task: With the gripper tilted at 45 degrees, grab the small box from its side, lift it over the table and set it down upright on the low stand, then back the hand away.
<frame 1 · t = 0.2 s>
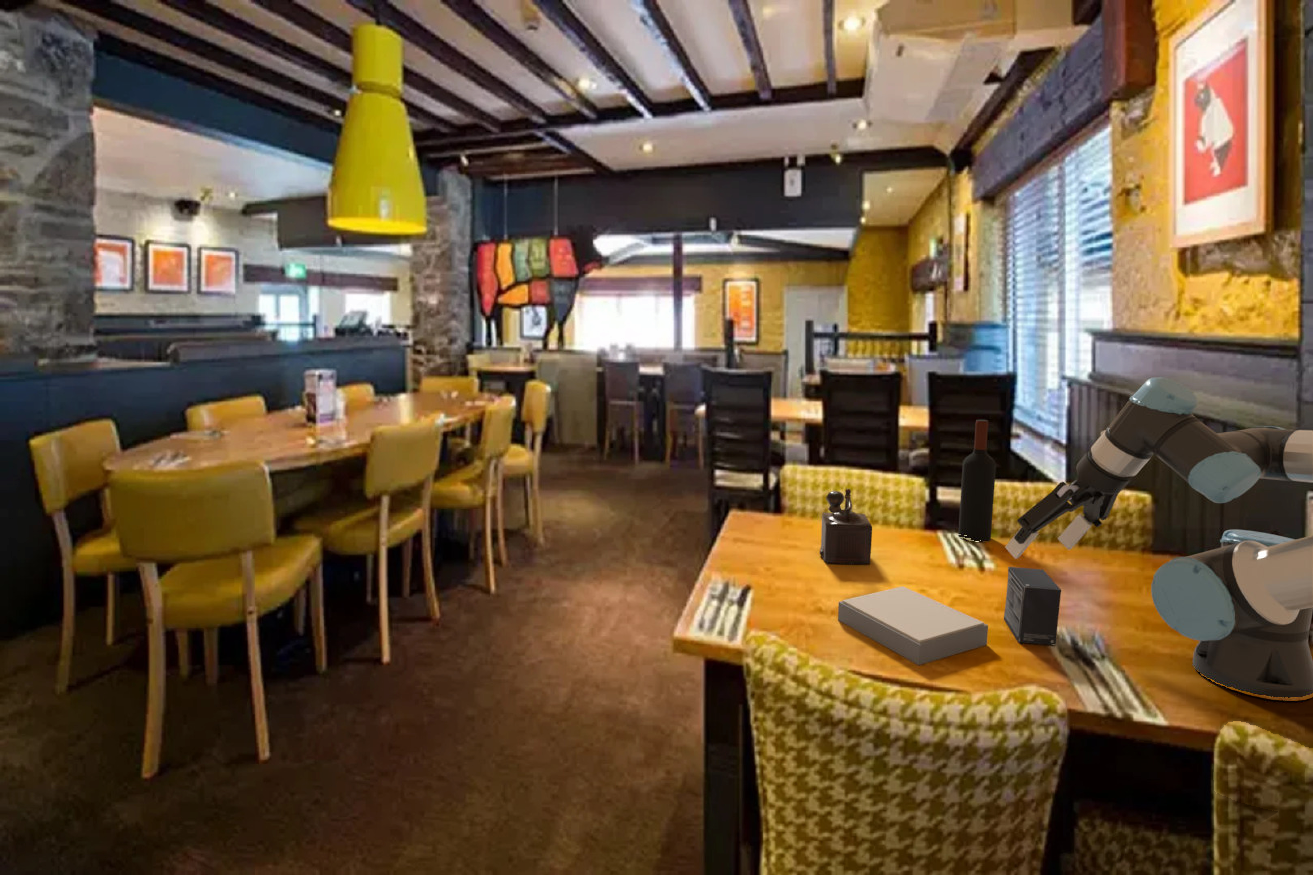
hand: (1038, 548, 132), 15 cm above the table, tool tilted 35°, fingers open, 13 cm apart
pepper mill: (845, 561, 170), on the table
wine bottle: (974, 538, 186), on the table
small box: (1029, 633, 132), on the table
stand: (909, 631, 133), on the table
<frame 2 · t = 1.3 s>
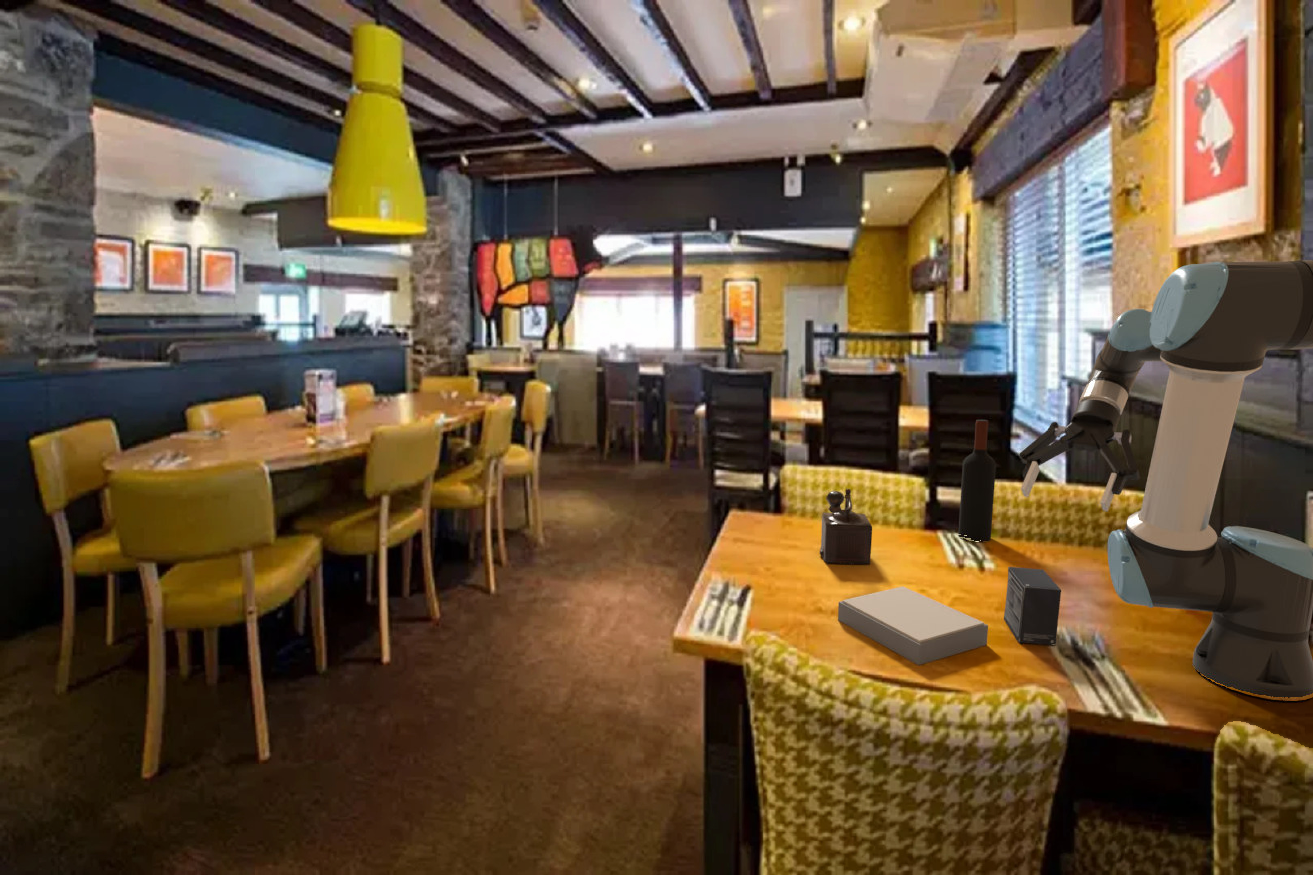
hand: (1062, 499, 135), 23 cm above the table, tool tilted 45°, fingers open, 13 cm apart
nothing on the table moved.
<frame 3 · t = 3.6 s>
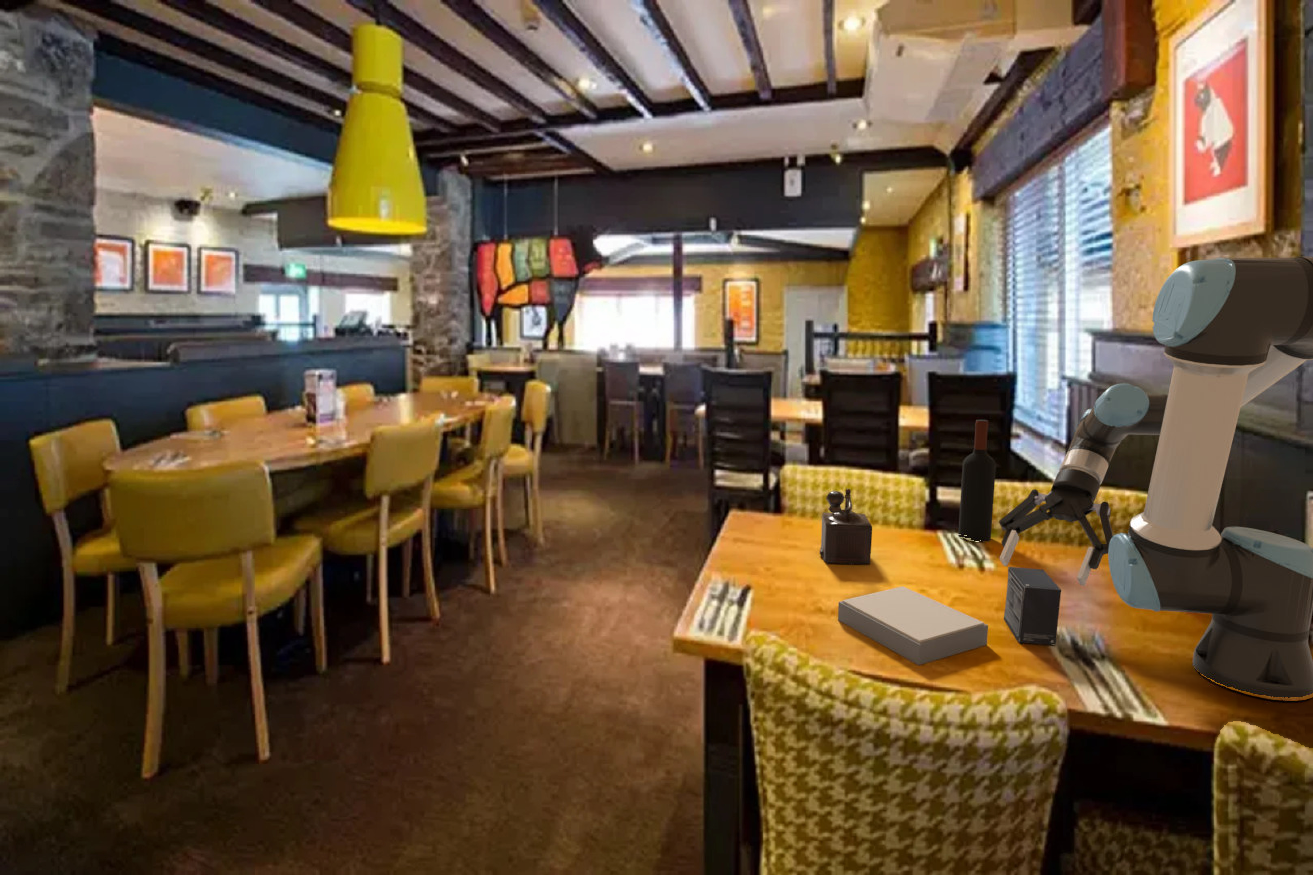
hand: (1040, 571, 135), 10 cm above the table, tool tilted 45°, fingers open, 13 cm apart
nothing on the table moved.
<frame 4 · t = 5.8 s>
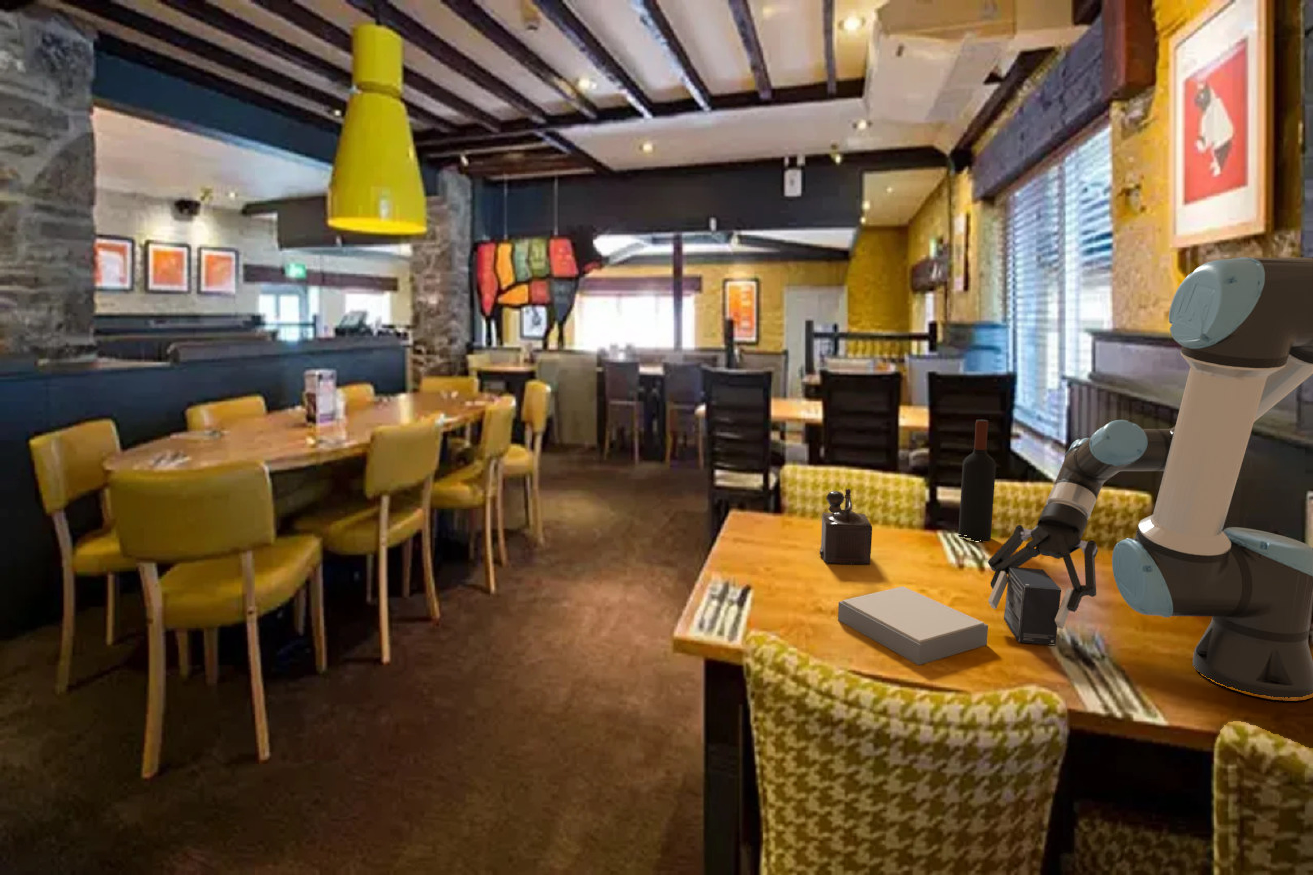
hand: (1024, 614, 130), 4 cm above the table, tool tilted 45°, fingers closed on small box, 11 cm apart
small box: (1029, 633, 132), on the table, touching gripper
everything else where it was.
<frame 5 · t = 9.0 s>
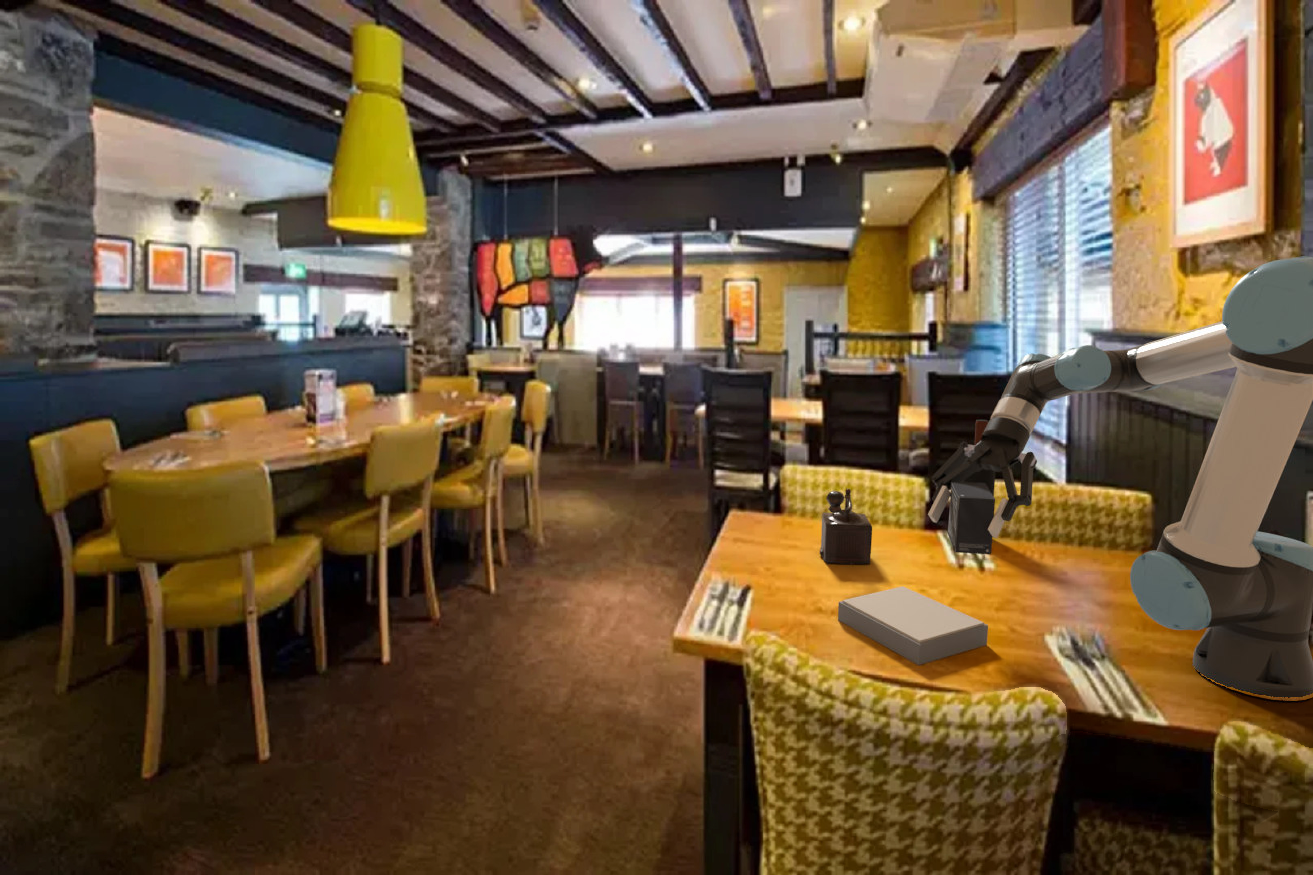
hand: (961, 526, 131), 19 cm above the table, tool tilted 40°, fingers closed on small box, 11 cm apart
small box: (969, 545, 134), point 15 cm above the table, touching gripper
everything else where it was.
when the fingers open (9 cm above the table, at t = 12.6 s): small box stays where it is, resting on stand.
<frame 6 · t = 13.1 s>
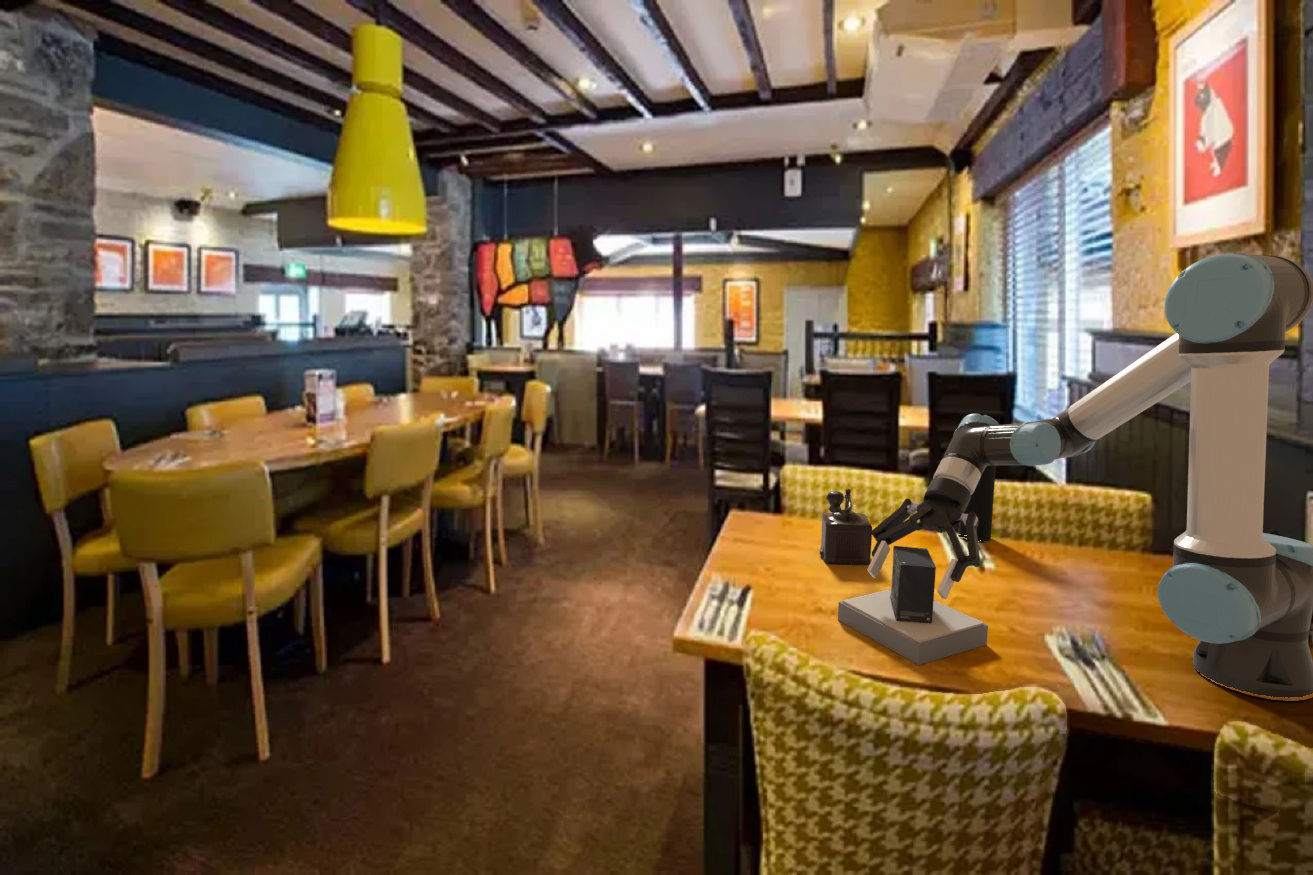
hand: (905, 584, 130), 10 cm above the table, tool tilted 45°, fingers open, 13 cm apart
small box: (910, 611, 132), point 4 cm above the table, touching stand
everything else where it was.
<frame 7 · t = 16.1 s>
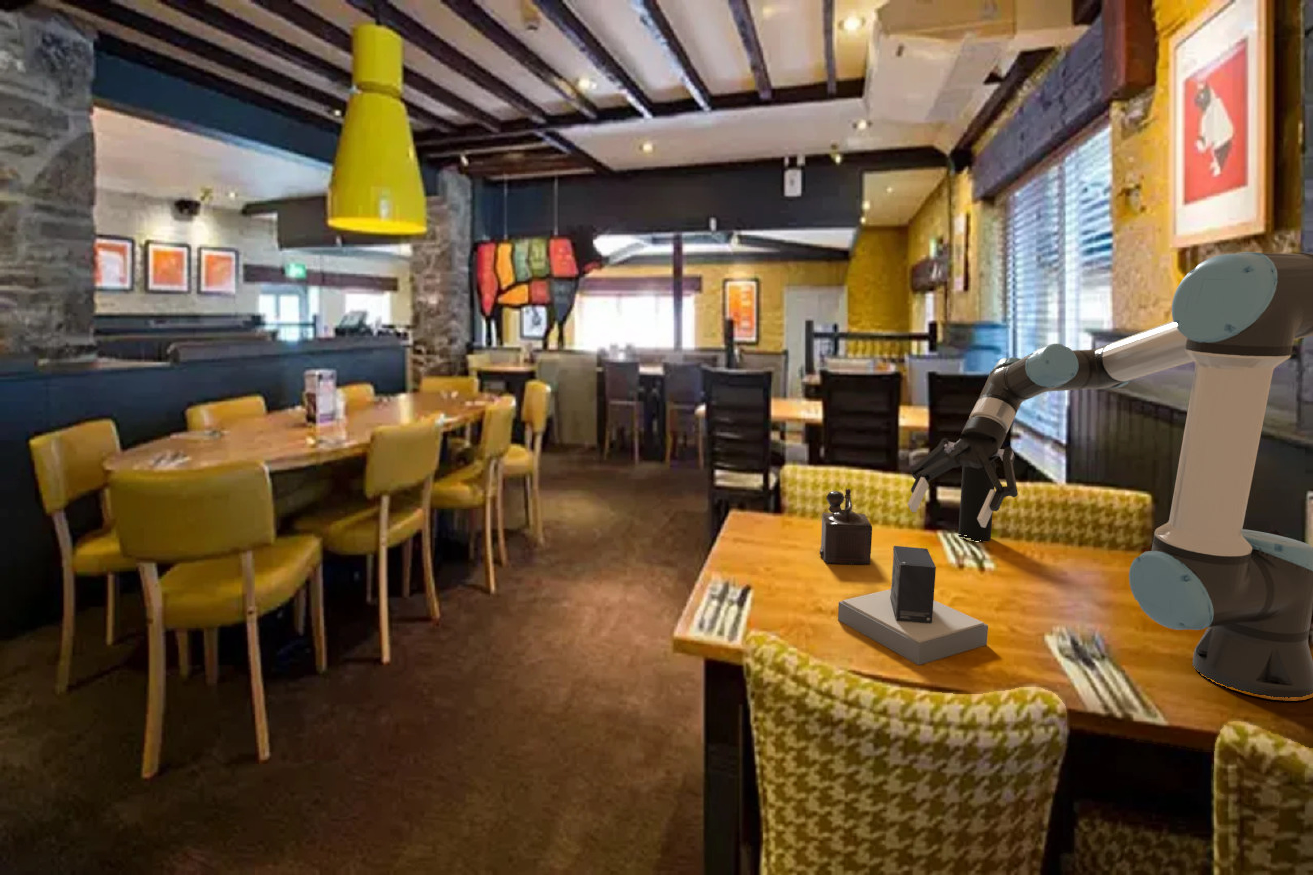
hand: (944, 515, 136), 20 cm above the table, tool tilted 45°, fingers open, 13 cm apart
nothing on the table moved.
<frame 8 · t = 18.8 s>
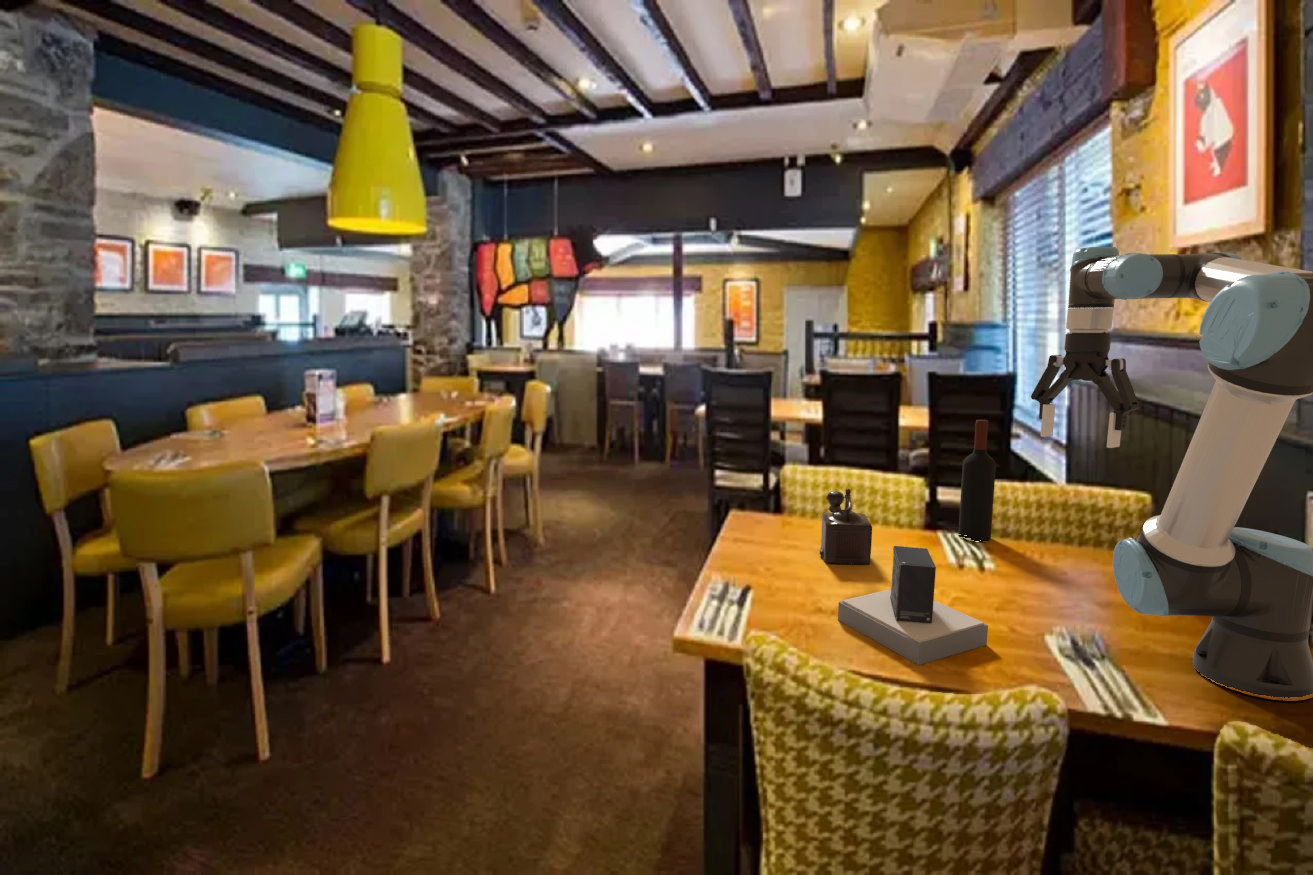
hand: (1078, 441, 143), 32 cm above the table, tool pointing down, fingers open, 13 cm apart
nothing on the table moved.
at the end: small box inside the target area on the stand (0.2 cm from its centre), point 3.8 cm above the stand's base; small box tilted 0°; the gripper is holding nothing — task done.
